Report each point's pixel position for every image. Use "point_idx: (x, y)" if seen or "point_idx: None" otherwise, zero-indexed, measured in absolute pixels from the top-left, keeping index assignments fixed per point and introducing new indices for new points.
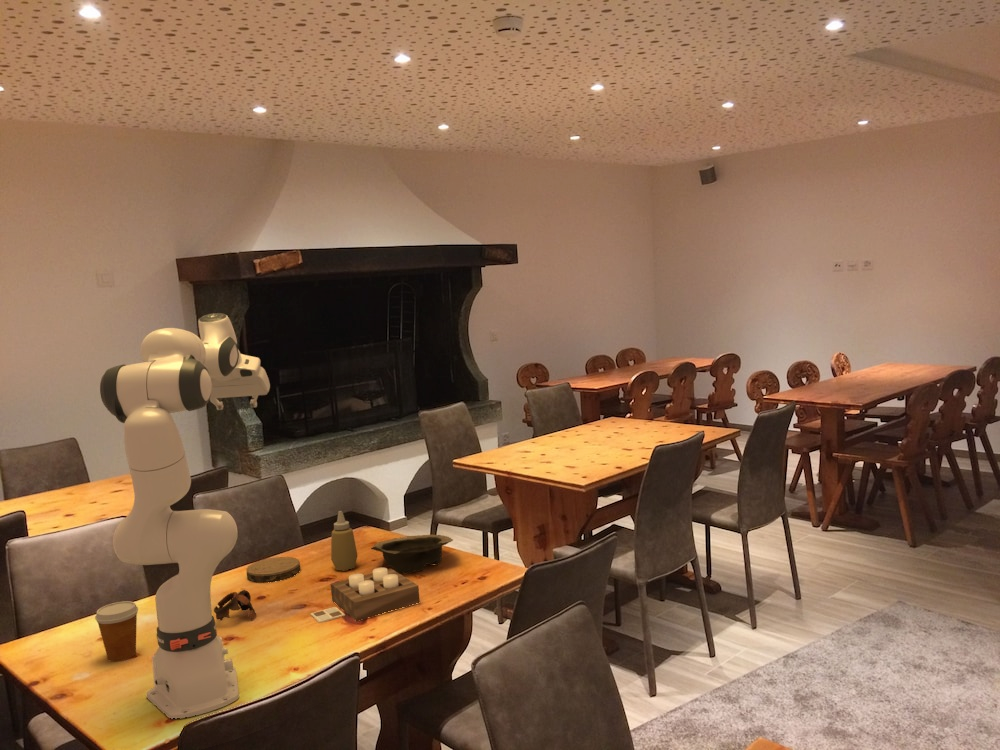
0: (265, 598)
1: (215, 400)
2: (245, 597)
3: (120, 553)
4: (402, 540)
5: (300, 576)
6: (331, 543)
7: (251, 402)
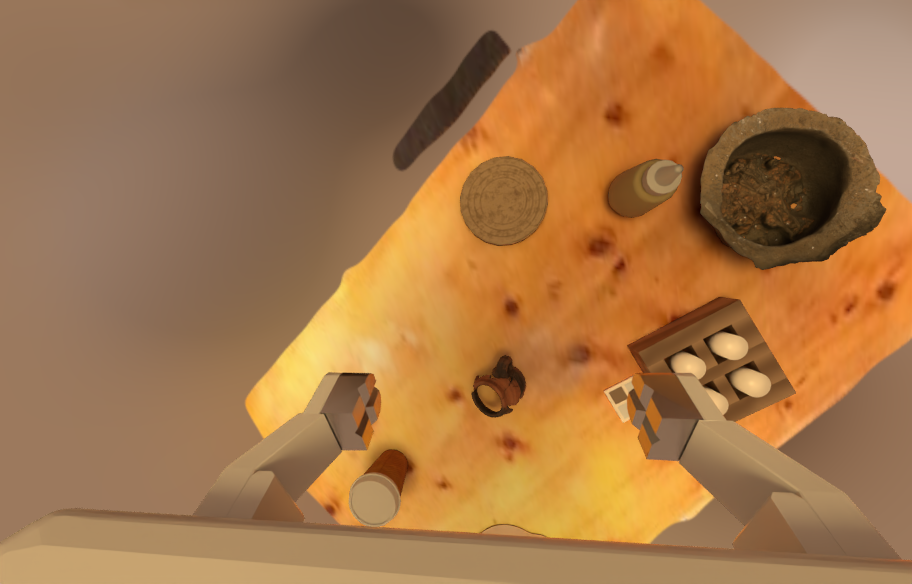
0: (519, 313)
1: (295, 471)
2: (514, 392)
3: None
4: (753, 136)
5: (552, 225)
6: (623, 196)
7: (666, 455)
